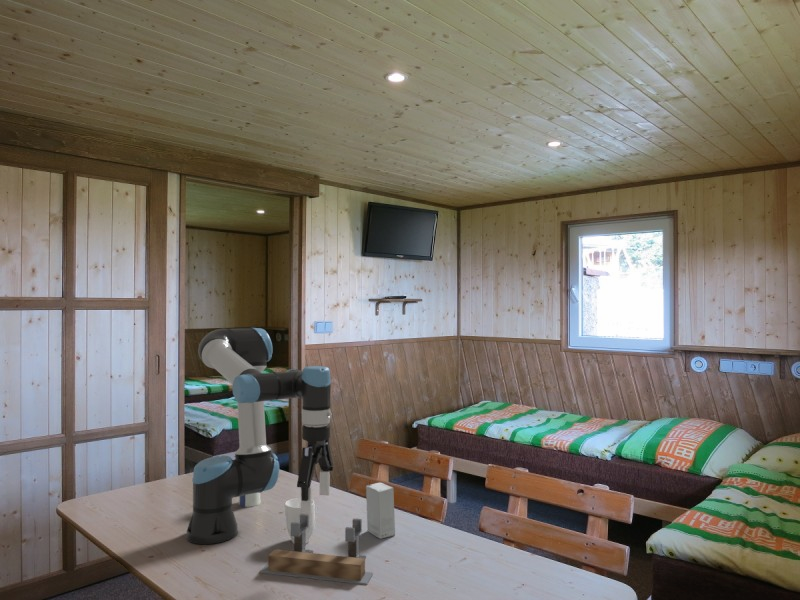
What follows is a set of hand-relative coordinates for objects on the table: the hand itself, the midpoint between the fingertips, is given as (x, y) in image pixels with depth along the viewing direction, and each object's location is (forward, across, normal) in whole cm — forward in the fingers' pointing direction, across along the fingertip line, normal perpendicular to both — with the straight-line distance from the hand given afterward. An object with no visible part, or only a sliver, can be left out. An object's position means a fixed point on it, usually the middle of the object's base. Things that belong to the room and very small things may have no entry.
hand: (315, 503), depth 153 cm
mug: (+19, +20, +12) cm, 30 cm away
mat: (+19, 0, 0) cm, 19 cm away
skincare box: (+19, +30, -10) cm, 37 cm away
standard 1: (+19, +8, +8) cm, 22 cm away
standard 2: (+19, +8, -8) cm, 22 cm away
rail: (+18, 0, 0) cm, 18 cm away
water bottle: (+19, +46, +43) cm, 65 cm away
